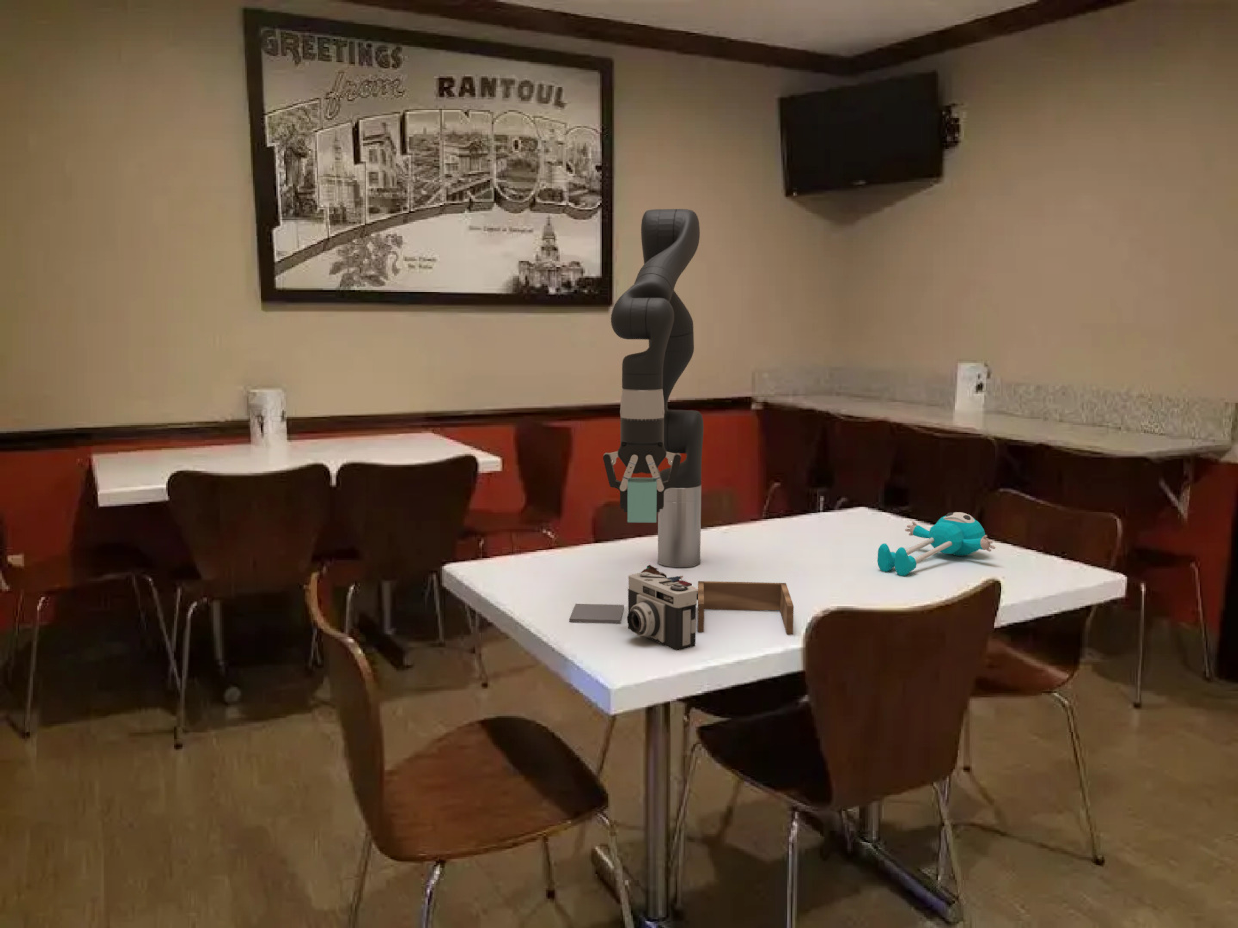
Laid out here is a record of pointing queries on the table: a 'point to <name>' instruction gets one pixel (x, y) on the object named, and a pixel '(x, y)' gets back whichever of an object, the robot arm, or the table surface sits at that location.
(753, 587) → the bay
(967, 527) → the toy
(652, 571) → the toy
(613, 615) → the mat
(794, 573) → the table surface
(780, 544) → the table surface
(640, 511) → the block
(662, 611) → the camera
